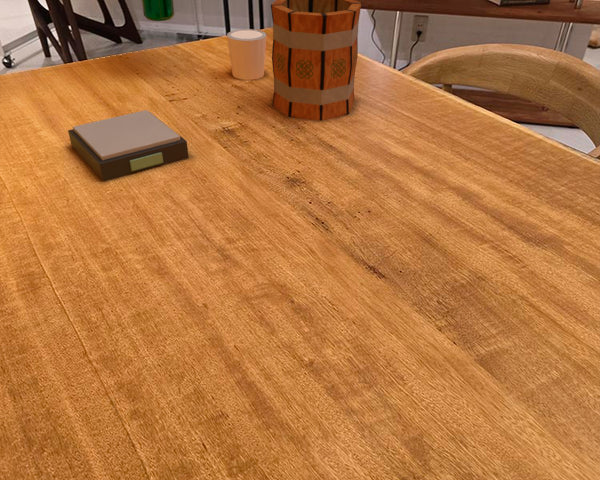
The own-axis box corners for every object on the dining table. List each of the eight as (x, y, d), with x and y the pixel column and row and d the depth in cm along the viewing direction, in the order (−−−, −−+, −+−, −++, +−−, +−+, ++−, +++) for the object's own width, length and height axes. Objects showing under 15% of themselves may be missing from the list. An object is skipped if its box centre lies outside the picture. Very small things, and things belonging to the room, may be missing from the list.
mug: (364, 119, 91) (372, 14, 82) (277, 123, 90) (276, 17, 80) (338, 76, 106) (344, -17, 97) (264, 78, 105) (261, -15, 95)
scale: (104, 183, 75) (99, 160, 73) (72, 148, 82) (66, 126, 80) (189, 159, 80) (187, 137, 78) (152, 128, 88) (148, 107, 86)
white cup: (233, 67, 109) (231, 27, 104) (270, 69, 108) (269, 29, 104) (225, 80, 104) (222, 38, 99) (263, 82, 103) (262, 40, 99)
